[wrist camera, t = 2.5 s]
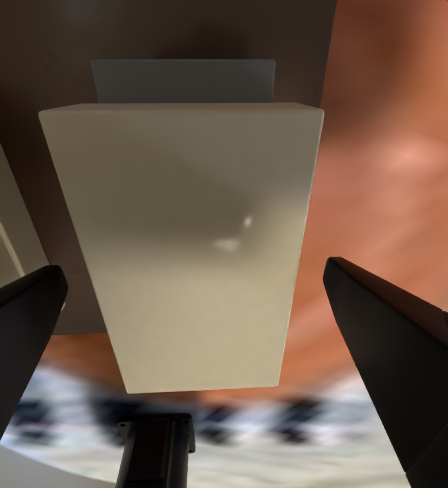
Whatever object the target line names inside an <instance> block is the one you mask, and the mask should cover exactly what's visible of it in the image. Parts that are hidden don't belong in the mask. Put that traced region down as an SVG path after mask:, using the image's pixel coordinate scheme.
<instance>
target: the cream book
mask: <svg viewBox="0 0 448 488" xmlns="http://www.w3.org/2000/svg"><path fill="white" fill-rule="evenodd" d="M39 119H40V122H41V125H42V128H43V132H44V135H45V138H46V141H47V144H48V147H49V150H50V153H51V157H52V160H53V163H54V166H55V169H56V172H57V175H58V178H59V182H60V185H61V188H62V191H63V194H64V197H65V200H66V203H67V207H68V210H69V213H70V216H71V219H72V222H73V225H74V228H75V232H76V235H77V238H78V241H79V244H80V247H81V250H82V253H83V257H84V260H85V263H86V266H87V269H88V272H89V275H90V278H91V282H92V285H93V288H94V291H95V294H96V297H97V300H98V303H99V307H100V310H101V313H102V316H103V319H104V322H105V325H106V328H107V332H108V335H109V338H110V341H111V344H112V347H113V350H114V353H115V357H116V360H117V363H118V366H119V369H120V372H121V375H122V378H123V382H124V385H125V388H126V391H127V393H129V394H132V393H153V392H174V391H195V390H216V389H237V388H258V387H277V386H278V384H279V378H280V372H281V366H282V360H283V354H284V348H285V343H286V337H287V331H288V325H289V319H290V313H291V307H292V302H293V296H294V290H295V284H296V278H297V272H298V266H299V260H300V255H301V249H302V243H303V237H304V231H305V225H306V219H307V214H308V208H309V202H310V196H311V190H312V184H313V178H314V173H315V167H316V161H317V155H318V149H319V143H320V137H321V131H322V126H323V120H324V110H322V109H320V108H316V107H312V106H308V105H304V104H299V103H295V102H289V103H92V104H76V105H70V106H65V107H59V108H53V109H47V110H42V111H40V112H39Z"/></svg>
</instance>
